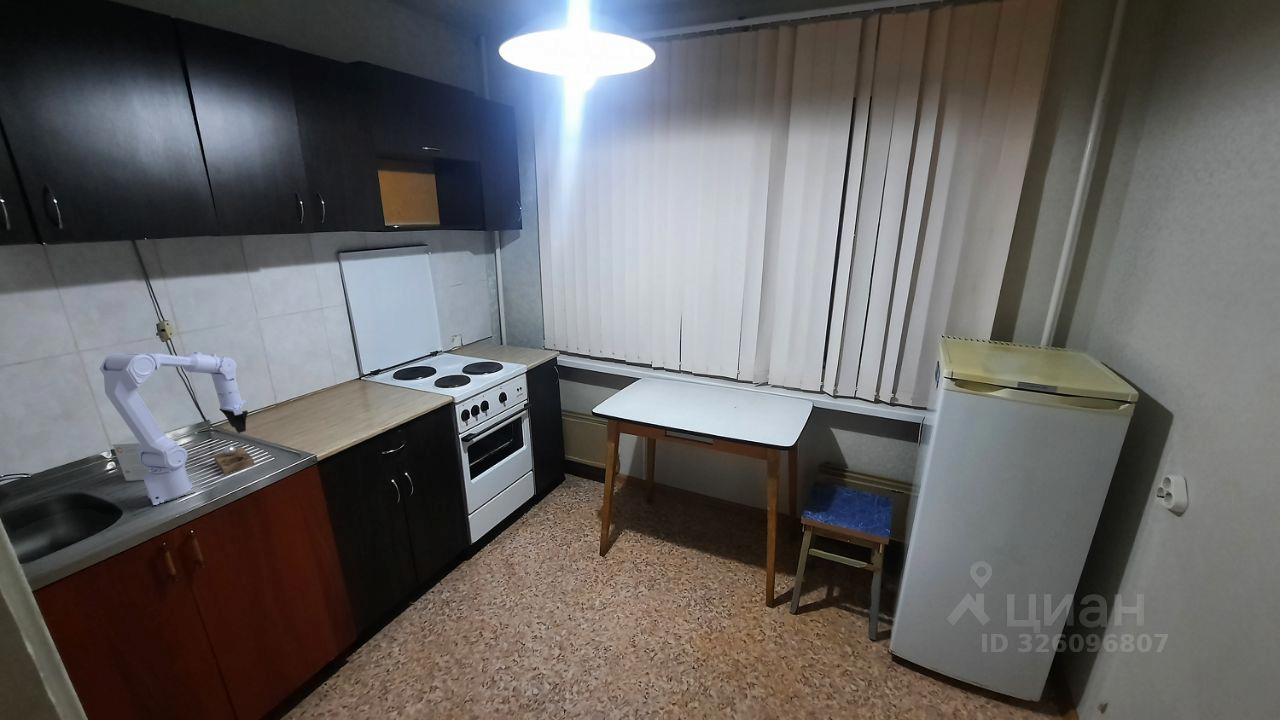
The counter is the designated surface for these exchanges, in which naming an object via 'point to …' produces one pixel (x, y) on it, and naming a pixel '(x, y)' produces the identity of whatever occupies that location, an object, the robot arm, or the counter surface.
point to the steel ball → (229, 450)
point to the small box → (130, 458)
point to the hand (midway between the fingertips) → (238, 428)
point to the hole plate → (233, 461)
